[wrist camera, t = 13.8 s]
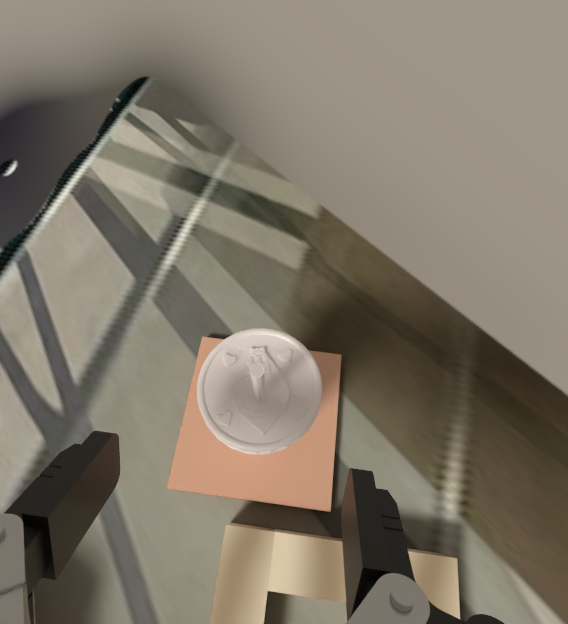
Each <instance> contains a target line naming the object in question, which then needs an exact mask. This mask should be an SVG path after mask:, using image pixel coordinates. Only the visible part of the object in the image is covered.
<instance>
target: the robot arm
mask: <svg viewBox="0 0 568 624" xmlns="http://www.w3.org/2000/svg"><path fill="white" fill-rule="evenodd" d="M119 475H120V453H119V437H118V435H117V434H115V433H108V432H101V431H94V432H92V433H91V434H90V435H89V436H88V438H87V439H86V440H85V441H84V442H83V443H82V445H80V444H74V445H72V446H71V447H69V448H67V449H66V450H64V451H62V452H61V453H59V454H58V456H57V457H56V458H55V459H54V460H53V461H52V462H51V463H50V464H49V467H46V469H45V470H44V471H43V472H42V473H41V474H40V476H39V477H37V478H36V479H35V480H34V482H33V483H32V484H31V485H30V486H29V487H28V488H27V489H26V490H25V491H24V492H23V493H22V495H21V496H20V497H19V498H18V499H17V500H16V501H15V502H14V503H13V504H12V505H11V506H10V508H9V509H8V510H7V511H6V512H5V513H4V514H0V624H36V622H35V602H34V590H33V589H34V587H35V586H36V584H37V583H38V581H39V580H40V579H41V577H42V578H48V579H55V580H56V578H57V577H58V575H59V574H60V572H61V571H62V569H63V568H64V566H65V564H66V563H67V561H68V560H69V558H70V557H71V555H72V554H73V552H74V551H75V549H76V547H77V546H78V544H79V543H80V541H81V540H82V538H83V537H84V535H85V534H86V532H87V530H88V529H89V527H90V526H91V524H92V523H93V521H94V520H95V518H96V516H97V515H98V513H99V512H100V510H101V509H102V507H103V506H104V504H105V503H106V501H107V499H108V498H109V496H110V495H111V493H112V492H113V490H114V488H115V487H116V484H117V482H118V479H119ZM341 529H342V545H343V560H344V576H345V591H346V607H347V623H346V624H504V623H503V622H501V621H500V620H498V619H496V618H494V617H492V616H488V615H484V614H477V615H473V616H472V617H470V618H469V619H468V620H467V622H465V621H462V620H460V619H458V618H456V617H454V616H452V615H450V614H448V613H446V612H444V611H442V610H440V609H439V608H437V607H436V606H434V605H433V604H432V603H431V602H430V601H428V599H427V597H426V595H425V593H424V592H423V590H422V589H421V588H420V587H419V585H418V584H417V583H416V581H415V578H414V574H413V570H412V566H411V562H410V557H409V553H408V549H407V545H406V541H405V536H404V533H403V528H402V524H401V521H400V515H399V511H398V507H397V503H396V502H395V500H394V499H393V497H392V496H391V495H390V493H389V492H388V490H383V489H376V486H375V481H374V475H373V472H372V471H366V470H359V469H352V468H350V470H349V473H348V478H347V483H346V488H345V493H344V498H343V503H342V511H341Z"/></svg>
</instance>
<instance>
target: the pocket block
mask: <svg viewBox="0 0 568 624" xmlns="http://www.w3.org/2000/svg"><path fill="white" fill-rule="evenodd" d="M407 549H408V553H409V557H410V562H411V566H412V570H413V574H414V578H415V581H416V583H417V584H418V585H419V587H420V588H421V589H422V590H423V592H424V593H425V595H426V597H427V599H428V601H430V602H431V603H432V604H433V605H434V606H436V607H437V608H439V609H440V610H442V611H444V612H446V613H448V614H450V615H452V616H454V617H456V618H458V619H460V604H459V585H458V565H457V558H455V557H451V556H448V555H445V554H442V553H437V552H430V551H423V550H416V549H409V548H407ZM268 591H272V592H278V593H285V594H292V595H298V596H305V597H311V598H318V599H325V600H331V601H338V602H345V603H346V591H345V576H344V560H343V545H342V539H340V538H333V537H327V536H320V535H313V534H306V533H299V532H292V531H285V530H278V529H272V528H265V527H258V526H251V525H244V524H237V523H228V524H227V525H226V529H225V534H224V540H223V546H222V552H221V558H220V564H219V570H218V576H217V582H216V588H215V594H214V600H213V605H212V611H211V617H210V623H209V624H264V617H265V609H266V601H267V593H268Z"/></svg>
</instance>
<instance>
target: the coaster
mask: <svg viewBox="0 0 568 624" xmlns="http://www.w3.org/2000/svg"><path fill="white" fill-rule="evenodd" d="M223 340H224V339H217V338H209V337H202V340H201V344H200V349H199V353H198V357H197V361H196V366H195V370H194V374H193V378H192V383H191V387H190V391H189V396H188V400H187V404H186V408H185V413H184V417H183V421H182V425H181V430H180V434H179V438H178V443H177V447H176V451H175V455H174V460H173V464H172V468H171V472H170V477H169V481H168V485H167V488H168V489H175V490H182V491H189V492H196V493H203V494H210V495H217V496H224V497H231V498H238V499H245V500H252V501H259V502H266V503H273V504H280V505H287V506H294V507H301V508H308V509H315V510H322V511H329V512H331V498H332V484H333V470H334V455H335V441H336V427H337V412H338V398H339V384H340V369H341V355H340V354H333V353H325V352H317V351H309V350H308V351H309V352H310V353H311V355H312V356H313V358H314V359H315V361H316V363H317V366H318V368H319V371H320V375H321V380H322V397H321V403H320V407H319V411H318V414H317V417H316V419H315V420H314V422H313V424H312V426H311V427H310V429H309V431H308V432H307V433H306V434H305V435H304V436H302V437H301V438H300V439H299V440H298V441H297V442H296V443H294V444H293V445H291V446H289V447H287V448H285V449H284V450H282V451H278V452H274V453H269V454H265V455H262V454H246V453H243V452H240V451H237V450H234V449H231V448H230V447H228V446H227V445H225V444H224V443H223V442H221V441H220V440H218V439H217V438H216V437H215V435H214V434H213V433H212V432H211V431H210V429H209V428H208V427H207V425H206V423H205V421H204V419H203V417H202V415H201V412H200V409H199V405H198V400H197V382H198V377H199V373H200V370H201V368H202V365H203V363H204V361H205V360H206V358H207V357H208V355H209V354H210V352H211V351H212V350H213V349H214V348H215V347H216V346H217V345H218V344H219V343H220V342H222V341H223Z"/></svg>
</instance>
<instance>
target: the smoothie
mask: <svg viewBox="0 0 568 624" xmlns="http://www.w3.org/2000/svg"><path fill="white" fill-rule="evenodd" d="M321 397H322V380H321V375H320V371H319V368H318V366H317V363H316V361H315V359H314V358H313V356H312V355H311V353H310V352H309V351H308V349H307V348H306V347H305V346H304V345H303V344H302V343H300V342H299V341H298V340H296V339H295V338H294V337H292V336H290V335H288V334H286V333H284V332H281V331H277V330H273V329H267V328H255V329H248V330H244V331H241V332H238V333H235V334H233V335H231V336H229V337H228V338H226V339H224V340H223V341H222V342H220V343H219V344H218V345H217V346H216V347H215V348H214V349H213V350H212V351H211V352H210V354H209V355H208V357H207V358H206V360H205V361H204V363H203V365H202V368H201V370H200V373H199V377H198V382H197V400H198V405H199V409H200V412H201V415H202V417H203V419H204V421H205V423H206V425H207V427H208V428H209V429H210V431H211V432H212V433H213V434H214V435H215V437H216V438H217V439H218V440H220V441H221V442H223V443H224V444H225V445H227V446H228V447H230V448H231V449H234V450H237V451H240V452H243V453H246V454H262V455H265V454H269V453H274V452H278V451H282V450H284V449H285V448H287V447H289V446H291V445H293V444H294V443H296V442H297V441H298V440H299V439H300V438H301V437H302V436H304V435H305V434H306V433H307V432H308V431H309V429H310V427H311V426H312V424H313V422H314V420H315V419H316V417H317V414H318V411H319V407H320V403H321Z"/></svg>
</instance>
